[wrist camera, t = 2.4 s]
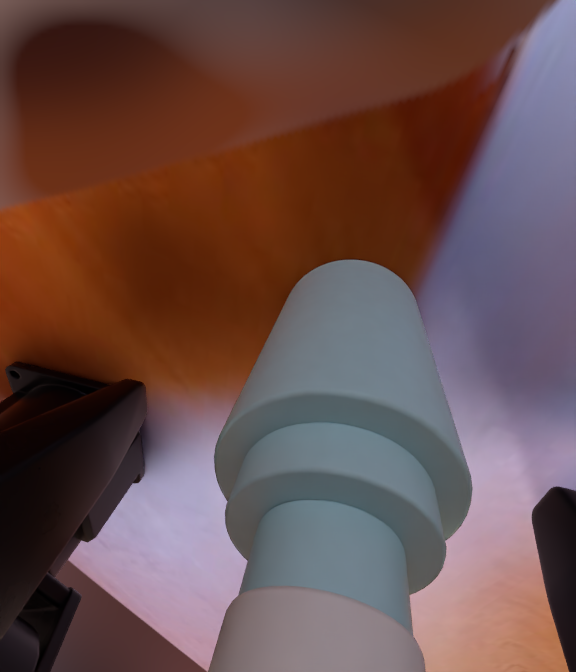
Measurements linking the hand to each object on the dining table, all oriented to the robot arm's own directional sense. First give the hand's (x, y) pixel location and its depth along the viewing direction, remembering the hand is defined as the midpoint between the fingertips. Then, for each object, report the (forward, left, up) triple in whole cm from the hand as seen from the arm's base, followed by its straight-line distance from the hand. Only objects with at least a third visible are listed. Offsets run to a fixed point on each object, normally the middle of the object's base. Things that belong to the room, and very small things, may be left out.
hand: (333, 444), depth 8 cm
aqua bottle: (0, 0, -6) cm, 6 cm away
